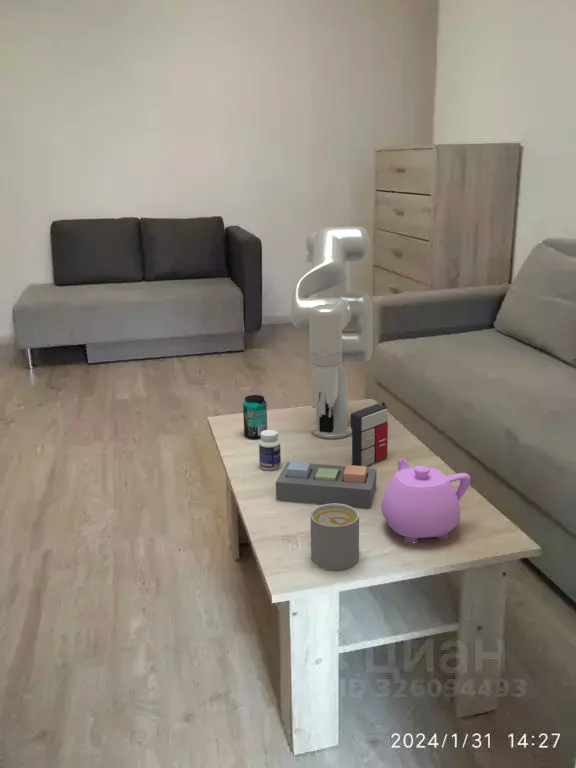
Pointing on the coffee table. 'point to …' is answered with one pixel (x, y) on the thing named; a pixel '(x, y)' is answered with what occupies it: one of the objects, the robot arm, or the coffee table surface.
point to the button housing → (326, 488)
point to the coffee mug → (335, 536)
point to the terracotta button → (355, 474)
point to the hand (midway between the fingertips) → (326, 430)
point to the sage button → (327, 474)
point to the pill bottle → (269, 450)
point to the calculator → (369, 435)
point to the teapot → (423, 502)
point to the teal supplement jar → (254, 416)
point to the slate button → (299, 469)
